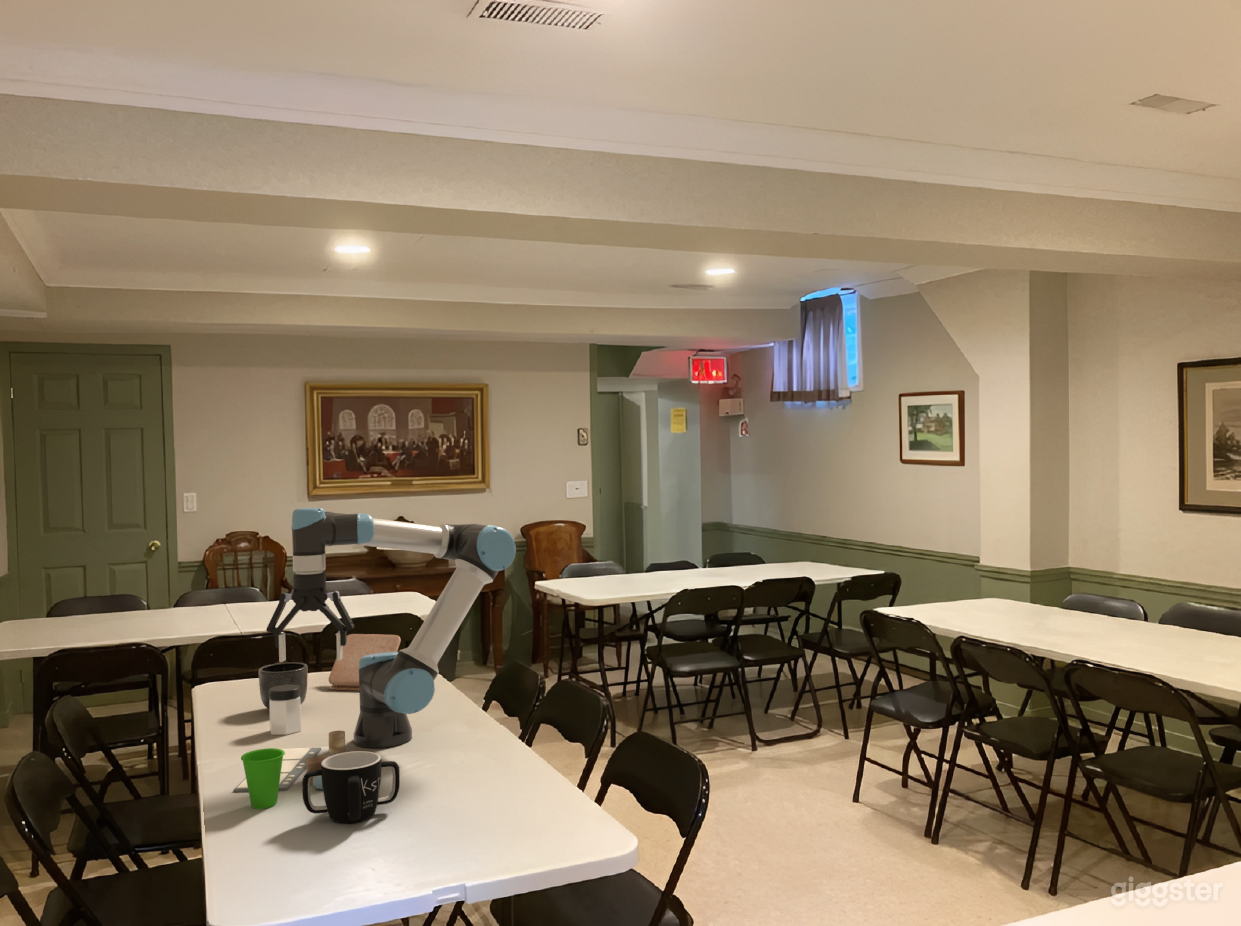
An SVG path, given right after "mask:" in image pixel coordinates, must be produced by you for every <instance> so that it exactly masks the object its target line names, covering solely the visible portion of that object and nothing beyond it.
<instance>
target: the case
mask: <svg viewBox="0 0 1241 926" xmlns="http://www.w3.org/2000/svg"><path fill="white" fill-rule="evenodd" d="M401 641H402V640H401V637H400V636H399V635H398V634H397V635H396V634H381V633H380V634H379V633H378V634H377V633H376V634H375V633H372V634H371V633H370V634H369V633H367V634H364V633H351V634H348V635H347V643H346V645H345V646H343V658H342V659H341V660H339V661H337V657H336V658H335V661H334V664H333V666H332V668H331V670H330V673H329V676H328V683H329V684H330V685H331V686H330V688H329V689H330V690H332V691H348V692H349V691H352V692H353V691H357V692H359V671H358V669H359V661H360V659H361V658H362V657H363V656H366V655H371V654H378V653H387V652H398V651H399V647H400V644H401Z"/></svg>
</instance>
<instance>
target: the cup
mask: <svg viewBox="0 0 1241 926" xmlns="http://www.w3.org/2000/svg"><path fill="white" fill-rule="evenodd" d="M281 749H282V748H275V747H274V748H260V749H255V750H251V751H247V752H245V753H243V754H242V755H241V757H240V759H241V761H242V764H243V769H244V775H245V778H246V780H247V786H248V791H249V792H248V796H249V800H250V804H251V805H250V806H251V807H252V808H253V809H256V810H264V809H270V808H273V807H274V806H276V804H277V802H278V796H279V790H278V789H279V782H280V775H281V768H282V760H283V755H285V752H284V751H283V750H281Z"/></svg>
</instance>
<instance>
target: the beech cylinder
mask: <svg viewBox="0 0 1241 926" xmlns="http://www.w3.org/2000/svg"><path fill="white" fill-rule="evenodd" d="M345 752H346V731H345V730H332V731H329V732H328V755H329V754H335V755H336V754H340V753H345Z"/></svg>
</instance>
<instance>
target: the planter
mask: <svg viewBox="0 0 1241 926" xmlns="http://www.w3.org/2000/svg"><path fill="white" fill-rule="evenodd" d="M308 671H309V669H308V665H307V664H306V663H304V662H279V663H272V664H268V665H264V666H262V667H259V669H258V682H259V683H258V686H259V695H260V700H261V703H262V704H263V706H264V707H265V708H267V709H268V710H269V709H270V701H269V689H270V688H272V687H275V686H280V685H298V686H300V706H301V705H302V704H303V703H304V701H305V700H306V697H307V693H308V677H309V676H308V675H309V673H308Z"/></svg>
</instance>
